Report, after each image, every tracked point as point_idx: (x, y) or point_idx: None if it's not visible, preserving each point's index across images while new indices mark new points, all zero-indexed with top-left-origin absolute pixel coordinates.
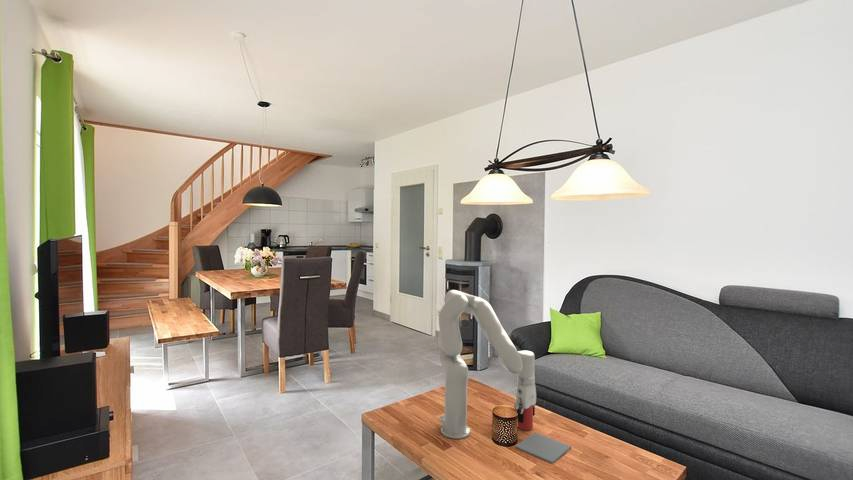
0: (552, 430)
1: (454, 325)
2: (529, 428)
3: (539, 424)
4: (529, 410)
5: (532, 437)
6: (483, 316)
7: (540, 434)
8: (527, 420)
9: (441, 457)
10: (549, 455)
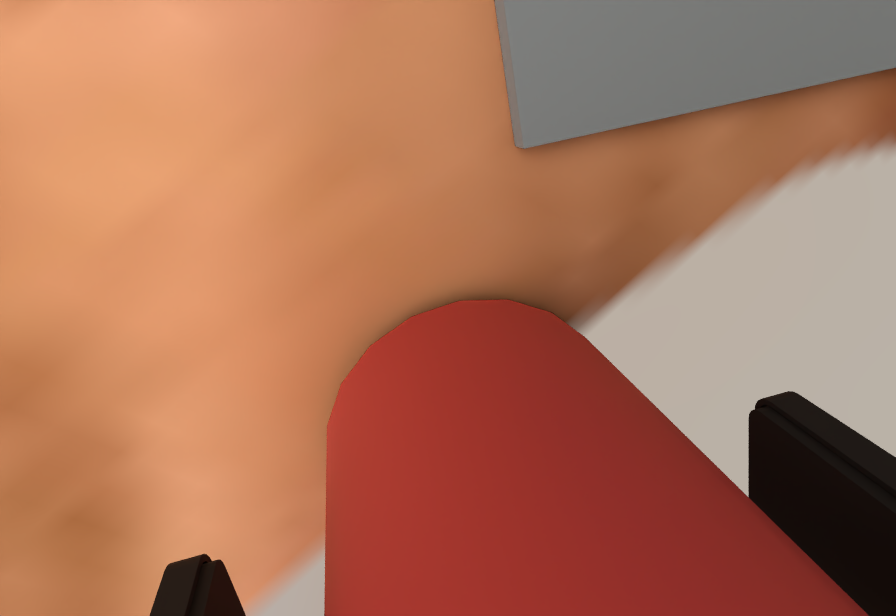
0: (5, 8)
1: None
2: (520, 306)
3: (99, 381)
4: None
5: (753, 19)
6: None
7: (503, 3)
8: (641, 406)
9: None
10: None
